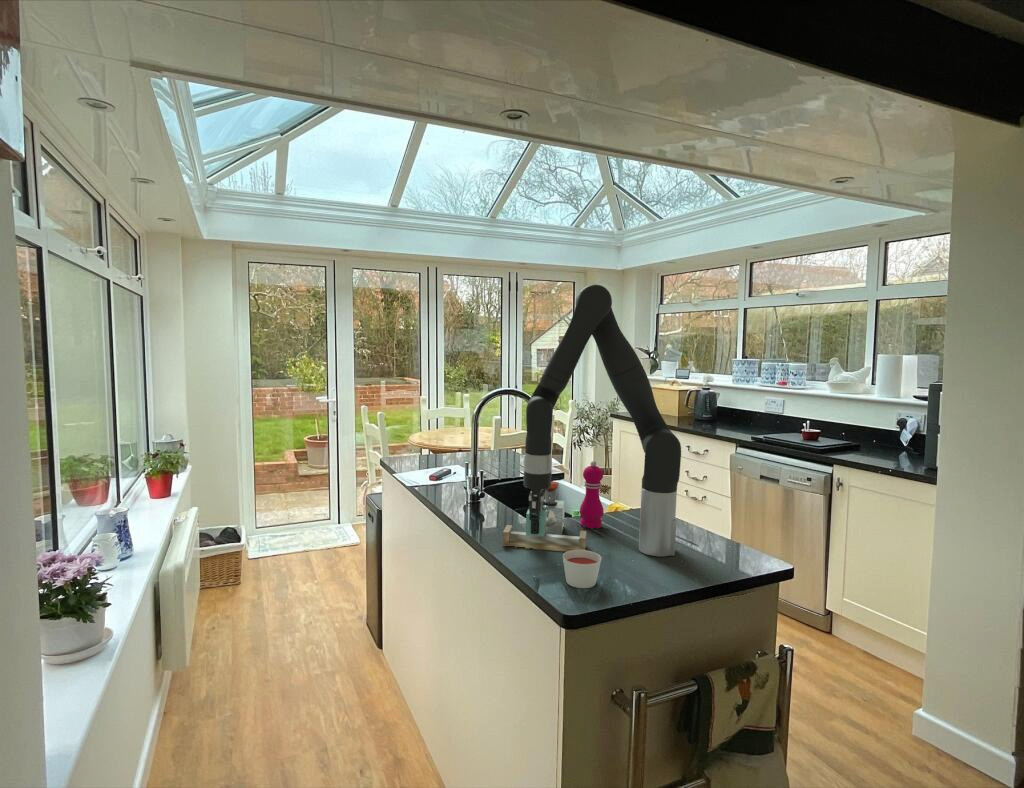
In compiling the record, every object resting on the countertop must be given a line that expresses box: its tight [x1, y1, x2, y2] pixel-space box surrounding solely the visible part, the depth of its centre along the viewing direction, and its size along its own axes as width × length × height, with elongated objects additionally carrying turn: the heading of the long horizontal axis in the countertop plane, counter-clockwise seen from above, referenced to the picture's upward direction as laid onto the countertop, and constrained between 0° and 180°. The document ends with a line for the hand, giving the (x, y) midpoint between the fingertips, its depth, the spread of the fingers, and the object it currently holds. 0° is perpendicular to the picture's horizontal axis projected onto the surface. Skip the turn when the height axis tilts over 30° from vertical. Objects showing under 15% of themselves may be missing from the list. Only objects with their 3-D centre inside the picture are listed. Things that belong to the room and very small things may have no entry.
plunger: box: [544, 480, 559, 506], centre depth 177 cm, size 4×4×9 cm
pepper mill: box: [579, 460, 604, 529], centre depth 182 cm, size 7×7×20 cm
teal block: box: [525, 508, 546, 536], centre depth 165 cm, size 5×4×6 cm
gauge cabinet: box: [543, 499, 566, 535], centre depth 177 cm, size 8×8×8 cm
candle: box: [562, 549, 602, 589], centre depth 141 cm, size 9×9×6 cm
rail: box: [502, 524, 587, 552], centre depth 165 cm, size 22×6×4 cm, turn 81°
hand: (535, 530), depth 165 cm, fingers closed on teal block, 4 cm apart
